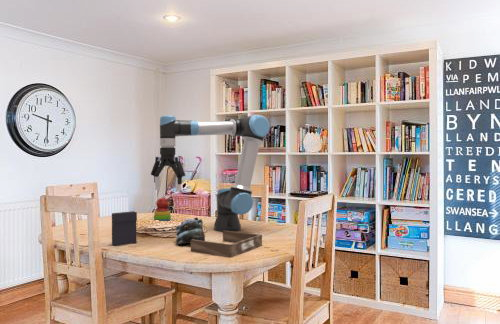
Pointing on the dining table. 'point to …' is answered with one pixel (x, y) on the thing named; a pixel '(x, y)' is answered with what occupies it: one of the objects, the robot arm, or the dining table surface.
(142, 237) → the dining table surface
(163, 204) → the stacking bear
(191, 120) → the robot arm
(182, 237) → the dark grey rounded lump
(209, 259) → the dining table surface
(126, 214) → the upright charcoal panel
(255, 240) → the labelled bay
